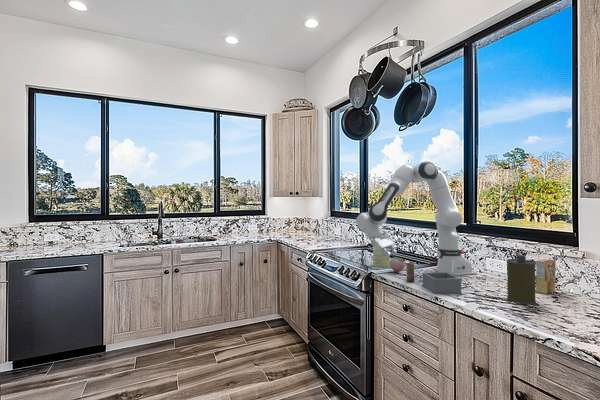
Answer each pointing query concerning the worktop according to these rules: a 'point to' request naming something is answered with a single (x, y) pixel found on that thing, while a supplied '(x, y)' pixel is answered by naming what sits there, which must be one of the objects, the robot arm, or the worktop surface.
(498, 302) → the worktop surface
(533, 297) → the canister
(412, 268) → the walnut peg
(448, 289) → the socket box
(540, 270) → the candy box
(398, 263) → the decorative fruit
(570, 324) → the worktop surface
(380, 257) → the box
